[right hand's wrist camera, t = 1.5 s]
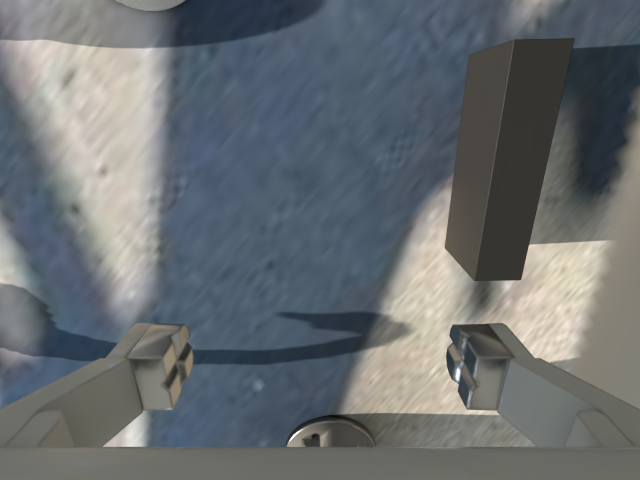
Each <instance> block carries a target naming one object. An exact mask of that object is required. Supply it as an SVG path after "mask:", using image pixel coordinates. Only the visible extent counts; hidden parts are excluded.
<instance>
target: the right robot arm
mask: <svg viewBox="0 0 640 480" xmlns="http://www.w3.org/2000/svg"><path fill="white" fill-rule="evenodd" d="M116 1H117V2H119V3H121V4H123V5H126V6H128V7H131V8H134V9H138V10H143V11H162V10H166V9H170V8H173V7H175V6H177V5H179V4H181V3H183V2H184V1H186V0H116ZM189 338H190V331H189V327H188V326H187V325H186V324H152V323H151V324H135V325H134V326H133V327H132V328H131V329H130V330H129V331H128V332H127V334H126V335H125V336H124V337H123V338H122V339H121V341H120V342H119V343H118V344H117V345H116V346H115V347H114V349H113V350H112V351H111V352H110V353H109V354H108V356H107V357H106V358H99V359H98V360H96V361H94V362H92V363H90V364H88V365H86V366H84V367H82V368H80V369H78V370H76V371H74V372H72V373H70V374H68V375H66V376H64V377H62V378H61V379H59V380H57V381H55V382H53V383H51V384H49V385H47V386H45V387H43V388H41V389H39V390H37V391H35V392H33V393H31V394H29V395H27V396H25V397H24V398H22V399H20V400H18V401H16V402H14V403H12V404H10V405H8V406H6V407H4V408H2V409H1V410H0V480H640V410H639V409H638V408H636V407H634V406H632V405H630V404H628V403H626V402H624V401H622V400H620V399H618V398H616V397H614V396H612V395H610V394H608V393H607V392H605V391H603V390H601V389H599V388H597V387H595V386H593V385H591V384H589V383H587V382H585V381H583V380H581V379H579V378H577V377H576V376H574V375H572V374H570V373H568V372H566V371H564V370H562V369H560V368H558V367H556V366H554V365H552V364H550V363H548V362H546V361H544V360H542V359H541V358H534V357H533V356H532V354H531V353H530V352H529V351H528V350H527V349H526V347H525V346H524V345H523V344H522V343H521V342H520V341H519V339H518V338H517V337H516V336H515V335H514V334H513V332H512V331H511V330H510V329H509V328H508V327H507V326H506V325H505V324H503V323H495V324H462V325H453V326H452V327H451V330H450V338H451V339H452V341H453V343H452V344H451V345H450V346H449V347H448V348H447V356H446V359H447V367H448V371H449V374H450V376H451V378H452V380H454V381H455V382H456V383H458V384H459V387H458V393H459V395H460V397H461V399H462V401H463V403H464V405H465V407H466V409H467V410H497V412H498V413H499V414H500V415H501V416H503V417H504V418H505V419H506V420H507V421H508V422H510V423H511V424H512V425H513V426H514V427H515V428H517V429H518V430H519V431H520V432H521V433H522V434H524V435H525V436H526V437H527V438H528V439H529V440H531V441H532V442H533V443H534V444H535V445H536V446H538V447H102V446H104V445H105V444H106V443H107V442H108V441H110V440H111V439H112V438H113V437H114V436H115V435H117V434H118V433H119V432H120V431H121V430H122V429H124V428H125V427H126V426H127V425H128V424H129V423H131V422H132V421H133V420H134V419H135V418H136V417H138V416H139V415H140V414H141V413H142V412H143V411H142V410H173V409H174V407H175V405H176V403H177V401H178V399H179V397H180V395H181V393H182V387H181V384H182V383H184V382H185V381H186V380H188V378H189V376H190V374H191V371H192V367H193V356H194V354H193V348H192V347H191V346H190V345H189V344H188V343H187V341H188V339H189Z"/></svg>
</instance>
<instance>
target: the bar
mask: <svg viewBox="0 0 640 480" xmlns="http://www.w3.org/2000/svg"><path fill="white" fill-rule="evenodd" d="M573 43H574V38H568V39H521V40H512V41H509V42H506V43H503V44H500V45H497V46H495V47H492V48H489V49H486V50H483V51H480V52H477V53H474V54H471V55H469V59H468V67H467V75H466V83H465V91H464V99H463V107H462V115H461V123H460V131H459V139H458V147H457V155H456V163H455V171H454V179H453V187H452V195H451V203H450V211H449V219H448V227H447V235H446V243H445V249H446V250H447V251H448V252H449V253H450V254H451V255H452V256H453V258H454V259H455V260H456V261H457V262H458V263H459V264H460V265H461V267H462V268H463V269H464V270H465V271H466V272H467V273H468V274H469V276H470V277H471V278H472V279H473V280H474V281H499V280H521V278H522V273H523V269H524V264H525V260H526V255H527V251H528V246H529V242H530V237H531V233H532V228H533V224H534V219H535V215H536V210H537V205H538V201H539V196H540V192H541V187H542V183H543V178H544V174H545V169H546V165H547V160H548V156H549V151H550V147H551V142H552V138H553V133H554V129H555V124H556V120H557V115H558V111H559V106H560V102H561V97H562V93H563V88H564V84H565V79H566V75H567V70H568V66H569V61H570V57H571V52H572V48H573Z"/></svg>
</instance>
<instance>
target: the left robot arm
mask: <svg viewBox="0 0 640 480" xmlns="http://www.w3.org/2000/svg"><path fill="white" fill-rule="evenodd" d="M286 447H375V443H374V439H373V437H372V435H371V434H370V432H369V431H368V430H367V429H366V428H365V427H364V426H362V425H361V424H359V423H357V422H355V421H353V420H350V419H347V418H343V417H333V416H329V417H320V418H315V419H312V420H309V421H307V422H305V423H303V424H301V425H300V426H298V427H297V428H296V429H295V430H294V431H293V432H292V433H291V435H290V436H289V438H288V440H287V444H286Z"/></svg>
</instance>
